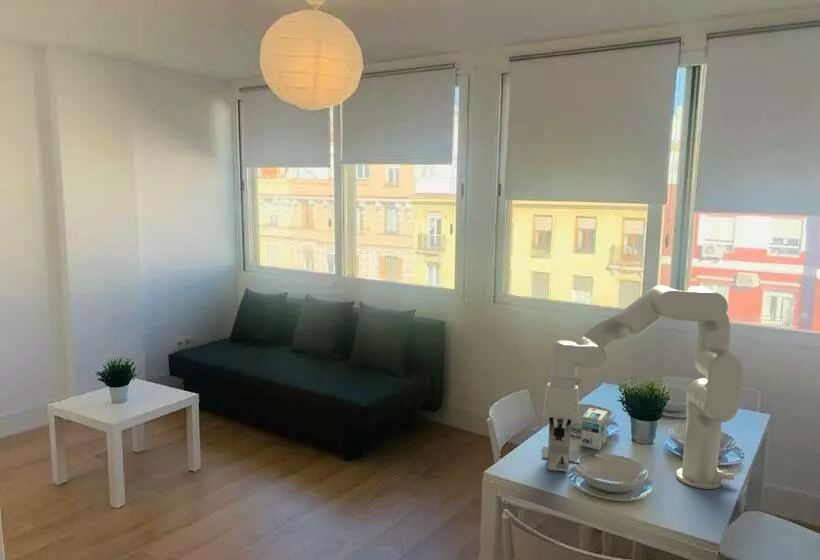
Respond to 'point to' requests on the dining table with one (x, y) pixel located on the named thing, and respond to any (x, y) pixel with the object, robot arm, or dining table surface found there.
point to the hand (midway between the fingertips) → (558, 438)
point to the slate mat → (572, 454)
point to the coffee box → (558, 449)
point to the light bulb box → (594, 428)
